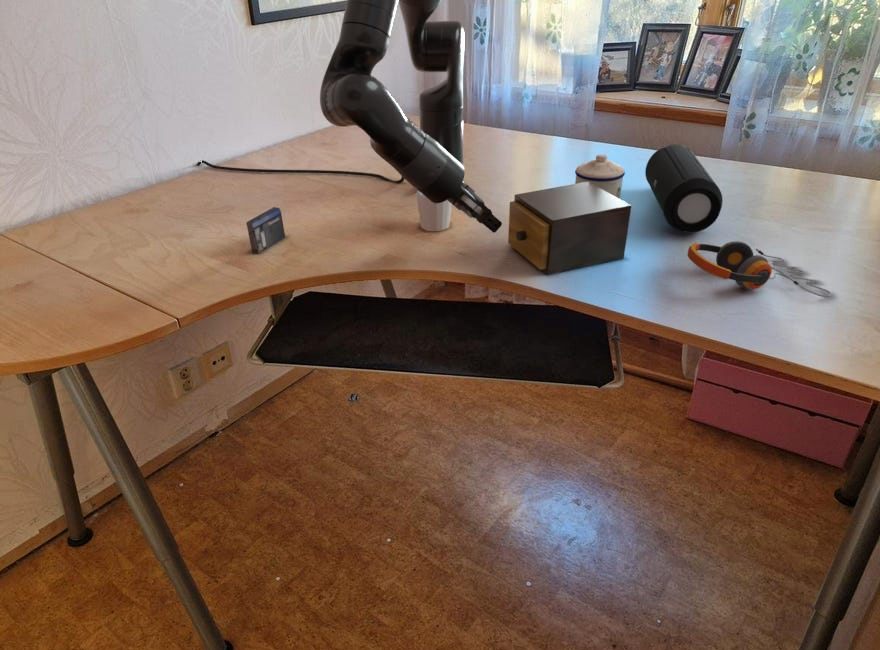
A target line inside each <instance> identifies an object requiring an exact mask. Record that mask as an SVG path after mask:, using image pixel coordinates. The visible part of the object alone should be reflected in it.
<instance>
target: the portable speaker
mask: <svg viewBox="0 0 880 650" xmlns="http://www.w3.org/2000/svg"><path fill="white" fill-rule="evenodd" d="M644 174H645V179H646V182H647V183H648V185H649V187H650V189H651V191H652V194H653V195H654V197H655V199H656V202H657V203H658V206H659V209H661V211H662V214H663V216H664V219H665V221H666V222H667V224H668V225H669V226H670V227H671V228H673V229H674V230H677V231H679V232H683V233H698V232H702V231H704V230H706V229H708V228H710V227H711V226H712V225H713V224H714V223H715V222H716V220H718V218H719V216H720V214H721V210H722V207H723V195H722V191H721V189H720V187H718V185H717V184H716V182H715V180H713V178H712V177H711V175H710V174H709V173H708V171H707V170H706V169H705V167H704V166H703V164H702V163H701V161H700V160H699V159H698V157H697V156H696V154H694V152H693V151H692V150H691V149H690V148H688V146H685V145H681V144H669V145H664V146H663V147H661V148H658V149H657V150H656V151H655V152H654V153H653V154H652V155H651V156H650V157H649V159H648V162H647V163H646V165H645V170H644Z"/></svg>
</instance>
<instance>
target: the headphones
mask: <svg viewBox="0 0 880 650" xmlns="http://www.w3.org/2000/svg"><path fill="white" fill-rule="evenodd" d="M699 251H705V252H710V253H714V254H716V255H715V256H716V257H715V263H714V262H712V261H710V260H708V259H706V258H705V257H704V256H702V255H701V254H700V253H699ZM755 251H756V252H757V253H758V254H755V255H754V252H753V249H752V248H751V247H750V245H748V244H747V243H746V242H743V241H739V240H735V241H730V242H726V243H724V244H723V245H722V246H719V245H714V244H710V243H698V242H693V243H692V244H691V245H690V246H689V247H688V249H687V257H688V259H689V260H690V261H691V262H692V263H693V264H694V265H696V267H698V268H700V269H701V270H702V271H705V272H707V273H708V274H711V275H713V276H715V277H717V278H721V279H724V280H732V281H735V283H736V285H738V287H741V288H742V289H750V290H757V289H759V288H762V286H764V285H766V283H767V282H768V281H769V280H774V279H775V278H776V276H777V275H779V276H782V277H783V278H786V279H788V280H789V281H792V283H793V284H794V285H796V286H798V287H800V288H801V289H803V290H804V291H805V292H808V293H810V294H812V295H815V296H818V297H822V298H823V297H824V298H830V297H832V296H833V295H832V293H831V291H829V290H828V289H825V288H822V287H820V286H817V285H814V284H819V283H820V282H819V280H816V279H811V278H806V277H805V278H803V277H804V276H803V274H805V271H804V270H801V269H799V267H796V266H791V265H789V264H788V263H787V262H786V260H785V259H783V258H782V257H779V256H774V255H773V256H772V255H767V254H765V253H764V252H763V251H762V250H759V249H758V248H755ZM766 257H767V258H772V260H771V264H770V263H769V261H768V259H767V258H766ZM775 259H776V260H775ZM771 265H773V266H776V267H782V268H786V269H787V273H789V275H787V274H786V273H784V272H782V271H781V270H780V269H777V268H775V267H772V266H771ZM773 270H774V271H776V272H774V273H773V276H772V272H773ZM771 276H772V277H771ZM794 279H798V280H803V281H805V282H804V283H805V284H806V285H807V286H809V287H813V288H815V289H818V290H821V291H824V292H827V293H828V295H827V294H826V295H825V294H820V293H817V292H814V291H811V290H809V289H808V288H806V287H804V286H803V285H801V284H800V283H799V282H798V281H797V280H794ZM813 283H814V284H813Z"/></svg>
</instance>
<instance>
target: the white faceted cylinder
mask: <svg viewBox="0 0 880 650" xmlns="http://www.w3.org/2000/svg"><path fill="white" fill-rule="evenodd" d="M416 199H417V207H418V215H419V222H420V228H421V229H422V230H424V231H427V232H441V231H445V230H447V229H448V228H449V227H450V224H451V223H450V222H451V213H452V212H451V211H452V204H451V203H450V202H449V201H448V200H446V201H444V202H442V203H433V202H431V201H430V200H429V199H428V198H427V197H425V196H424V195H423V194H422V193H421V192H419V191H418V190H416Z"/></svg>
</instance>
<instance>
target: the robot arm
mask: <svg viewBox="0 0 880 650" xmlns="http://www.w3.org/2000/svg"><path fill="white" fill-rule="evenodd" d="M441 2H442V0H346V3H345V9H344V13H343V17H342V23H341V28H340V33H339V39H338V41H337V43H336V46H335V48H334V50H333V53H332V54H331V58H330V60H329V63H328V64H327V67H326V69H325V73H324V75H323V78H322V82H321V86H320V91H319V105H320V110H321V113H322V115H323V116H324V118H325V120H326V121H328V123H330V124H331V125H334V126H335V127H342V128H344V127H345V128H346V127H353V126H356V127H358V128H359V129H361V130H362V131H363V132H365V134H366V135H367V136H368V137H369V145H370V147H371V148H372V150H373V151H374V152H375V154H377V155H378V156H379V157H380V158H381V159H382V160H384V161H385V162H386V163H387V164H389V165H390V166H391V167H392V168H393V169H394V170H395V171H397V173H398V174H399V175H400V176H401V178H400V179H398V180H393V179H390V178H387V177H386V176H383V175H381V174H378V173H371V172H361V171H349V170H327V169H326V170H324V169H269V168H267V169H266V168H243V167H232V166H230V167H229V166H221V165H215V164H212V163H210V162H208V161H206V160H203V159H201V160H202V163H201V162H199V161H198V162H196V166H199V167H200V166H201V164H204V165H206V166H208V167H209V168H212V169H217V170H224V171H234V172H247V173H268V174H269V173H272V174H273V173H276V174H277V173H278V174H280V173H281V174H287V173H288V174H327V175H328V174H329V175H330V174H333V175H351V176H362V177H363V176H364V177H371V178H377V179H380V180H383V181H386V182H391V183H394V184H401V183H403V182H404V181H406V182H407V183H408V184H409V185H411V186H412V187H413V188H414V189H416V191H419V192H421V193H422V194H423V195H424V196H425V197H427V198H428V199H429V200H430V201H431V202H433V203H442V202H444V201H446V200H448V201H449V202H450V203H451V206H453V207H455V208H456V209H457V210H458V211H462V212H463V213H464V214H465V215H466V216H468V217H469V218H470V219H471V218H473V219H476V222H478V223H479V224H482V225H484V226H485V227H486V228H487V229H488V230H489V231H491V232H492V233H497V231H498V230H499V229H500V228H501V227H502V226H503V222H502V221H501V220H500V219H499V218H497V216H495V215H494V214H493V211H492V210H491V209H490V208H488V206H486V204H485V201H484V200H483V198H481V197H480V196H479V195H478V194H477V193H475V190H474V189H473V188H472V187H471V186H470V185H469V184H466V182H465V181H464V179H465V173H466V171H465V164H464V63H465V47H466V46H465V42H466V41H465V30H464V27H463V24H462V22H460V21H458V20H436V21H435V20H434V21H428V20H429V18H430V17H431V15H433V13H435V11H436V10H437V8H438V7H439V6H440V4H441ZM398 7H399V10H400V14H401V17H402V21H403V25H404V30H405V35H406V42H407V47H408V53H409V57H410V61H411V63H412V66H413V68H414V69H415V70H416V71H418V72H421V73H422V72H423V73H446V78H445V79H444V80H443V81H442V82H440V83H438V84H437V85H434V86H432V87H429V88H426V89H424V90H423V91H421V92H420V93H419V96H418V109H419V110H418V111H419V112H418V113H419V114H418V115H419V126H418V125H416V123H414V121H412V120H411V119H410V118H409V117H407V115H405V113H404V112H403V110H402V108H401V107H400V105H399V104H398V102H397V101H396V100H395V98H394V97H393V95H392V94H391V92H390V91H389V90H388V89H387V88H386V86H385V84H383V83H382V81H380V80H379V79H377V77H375V76H373V75H372V72H373V71H374V68H375V67H376V65H377V64H379V63H380V62H381V61H382V60H384V57H385V56H386V54H387V52H388V49H389V44H390V39H391V36H392V31H393V27H394V23H395V18H396V14H397V9H398Z"/></svg>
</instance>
